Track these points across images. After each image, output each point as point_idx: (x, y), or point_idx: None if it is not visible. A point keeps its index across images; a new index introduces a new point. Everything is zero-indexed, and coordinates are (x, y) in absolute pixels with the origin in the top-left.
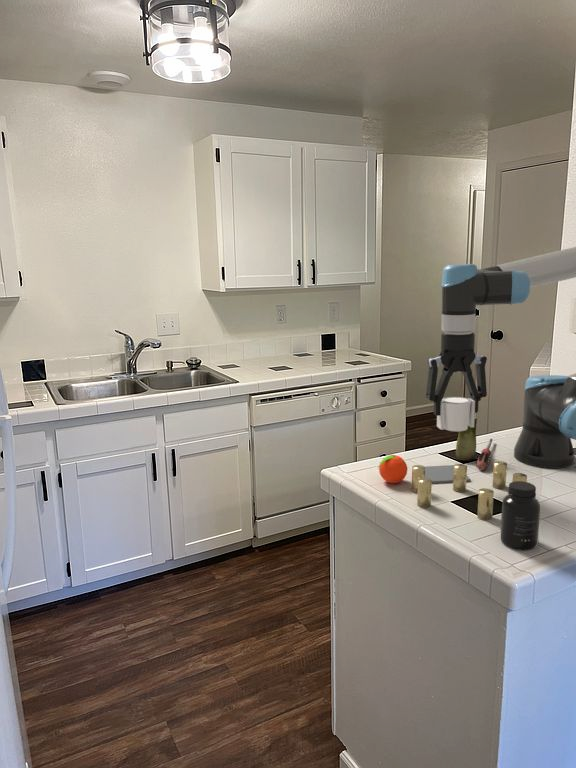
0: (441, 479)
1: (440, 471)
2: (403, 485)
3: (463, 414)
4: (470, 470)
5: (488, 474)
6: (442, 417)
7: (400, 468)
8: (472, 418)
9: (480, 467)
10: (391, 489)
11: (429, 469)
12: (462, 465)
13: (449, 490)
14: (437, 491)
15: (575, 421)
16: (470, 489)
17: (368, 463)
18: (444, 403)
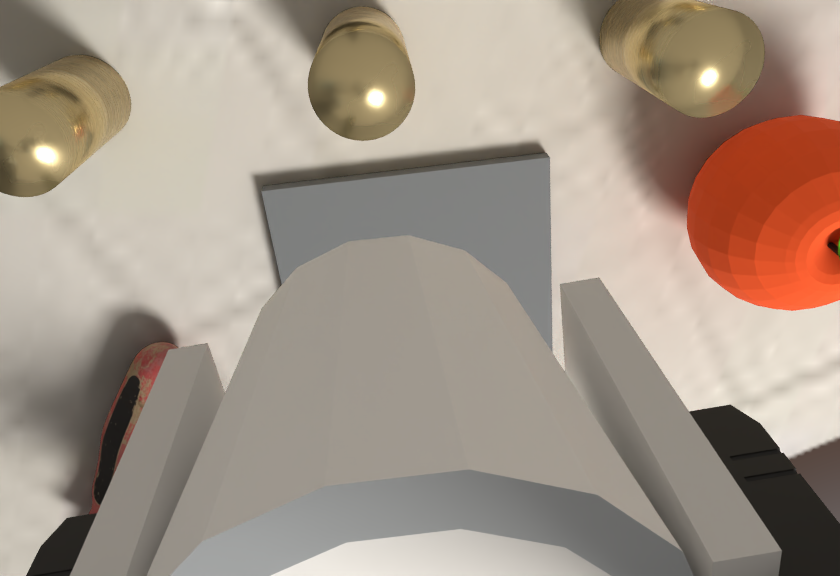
0: (450, 188)
1: None
2: (699, 130)
3: (327, 352)
4: (232, 351)
5: (131, 294)
6: (640, 371)
7: (792, 145)
8: (166, 420)
9: (170, 346)
10: (796, 65)
11: None
12: (342, 101)
13: (431, 41)
14: (515, 25)
15: None
16: (288, 55)
17: (776, 437)
18: (713, 555)
